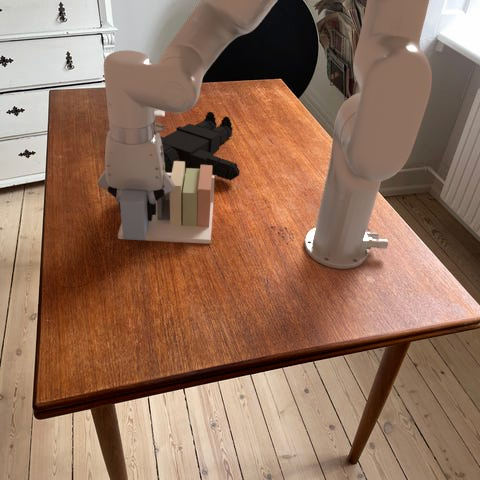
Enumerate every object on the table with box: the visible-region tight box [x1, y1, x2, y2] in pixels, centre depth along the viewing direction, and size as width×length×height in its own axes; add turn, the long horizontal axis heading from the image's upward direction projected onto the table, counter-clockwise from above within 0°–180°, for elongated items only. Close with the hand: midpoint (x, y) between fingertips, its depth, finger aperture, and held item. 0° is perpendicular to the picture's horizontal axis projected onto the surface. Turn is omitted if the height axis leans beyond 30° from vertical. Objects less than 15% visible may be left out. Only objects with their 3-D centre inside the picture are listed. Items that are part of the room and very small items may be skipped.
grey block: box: [120, 189, 149, 241], centre depth 93 cm, size 4×11×8 cm, turn 0°
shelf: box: [117, 161, 216, 245], centre depth 99 cm, size 18×14×10 cm
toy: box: [160, 111, 240, 182], centre depth 122 cm, size 33×8×30 cm
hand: (138, 215), depth 95 cm, fingers closed on grey block, 4 cm apart
